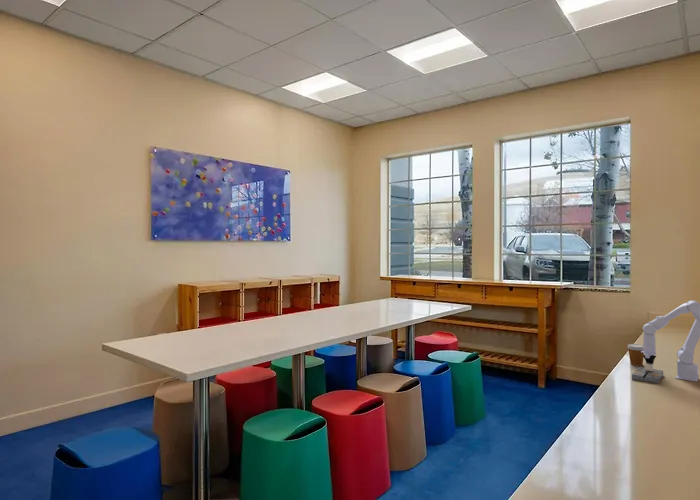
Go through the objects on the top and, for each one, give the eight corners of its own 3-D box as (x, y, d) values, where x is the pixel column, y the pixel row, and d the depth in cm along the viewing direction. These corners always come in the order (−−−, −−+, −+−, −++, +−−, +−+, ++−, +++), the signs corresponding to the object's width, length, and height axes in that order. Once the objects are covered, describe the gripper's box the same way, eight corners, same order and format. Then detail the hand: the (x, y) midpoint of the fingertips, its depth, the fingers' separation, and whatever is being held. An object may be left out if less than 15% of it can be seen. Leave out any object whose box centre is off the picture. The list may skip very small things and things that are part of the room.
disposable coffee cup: (645, 367, 264) (644, 347, 264) (626, 365, 270) (626, 346, 270) (646, 363, 272) (645, 344, 272) (628, 361, 277) (627, 343, 277)
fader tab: (653, 372, 247) (653, 363, 247) (652, 373, 245) (652, 364, 245) (645, 371, 250) (645, 362, 250) (644, 372, 248) (644, 363, 248)
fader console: (663, 375, 247) (663, 370, 247) (657, 383, 233) (657, 378, 233) (638, 371, 255) (638, 366, 255) (631, 379, 242) (631, 374, 242)
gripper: (643, 341, 257) (644, 364, 258) (638, 345, 247) (639, 369, 247) (657, 343, 253) (658, 366, 253) (653, 347, 242) (654, 371, 242)
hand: (649, 367), depth 250 cm, fingers closed
